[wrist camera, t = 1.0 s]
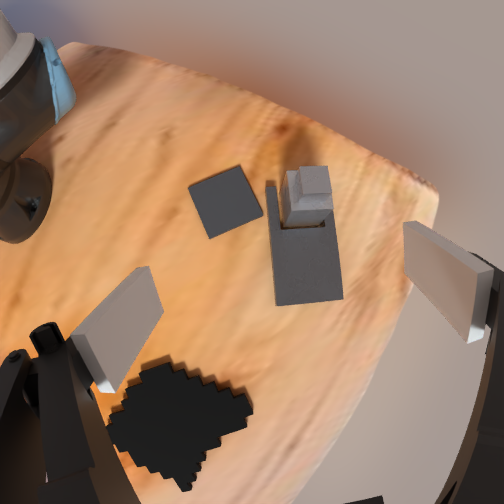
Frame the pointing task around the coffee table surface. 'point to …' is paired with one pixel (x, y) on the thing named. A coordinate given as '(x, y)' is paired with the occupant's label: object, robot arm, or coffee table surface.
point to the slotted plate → (303, 259)
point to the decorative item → (175, 422)
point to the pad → (225, 202)
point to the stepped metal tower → (306, 196)
